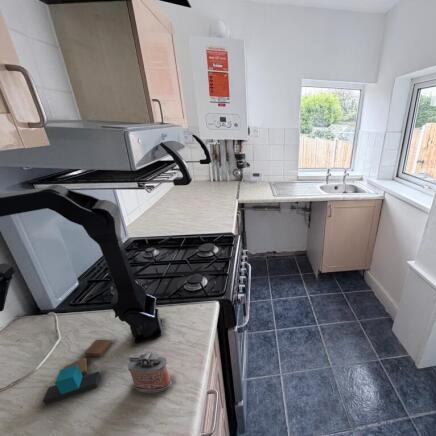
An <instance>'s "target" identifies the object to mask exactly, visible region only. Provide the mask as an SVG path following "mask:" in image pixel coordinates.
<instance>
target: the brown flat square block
mask: <svg viewBox="0 0 436 436" xmlns="http://www.w3.org/2000/svg"><path fill="white" fill-rule="evenodd" d="M112 344H113V342H112V340H111V339H95V340H94V341H93V343H92V344H91V345H90V346H88V348H87V349H86V350H85V351H84V352H83V354H84V356H85V357H102V356H103V355H104V354H105V352H106V351H107V350H108V349H109V348H110V346H111V345H112Z"/></svg>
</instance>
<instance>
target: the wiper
mask: <svg viewBox="0 0 436 436" xmlns="http://www.w3.org/2000/svg"><path fill="white" fill-rule="evenodd" d="M100 379H101V373H100V371H95V372H91V373H89V374H85V375H82V373H81V371H80V369H79V367H78V365H75V366H71V367H68V368H65V369H64V368H61V369H59V372H58V374H57V376H56V379H55V381H54V383H55V385H51V386H49V387H48V389H47V390H46V393H45V395H44V397H43V399H42V402H43V404H44V405H45V406H46V405H49V404H52V403H55V402H58V401H60V400H61V401H62V400H64V399H66V398H69V397H72V396H75V395H79V394H81V393H84V392H87V391H90V390H93V389H96V388H98V386H99V382H100Z"/></svg>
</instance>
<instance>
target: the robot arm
mask: <svg viewBox="0 0 436 436" xmlns="http://www.w3.org/2000/svg"><path fill="white" fill-rule="evenodd" d="M46 209H48V210H50V211H53V212H55V213H57V214H58V215H60V216H61V217H62V218H64V219H66V220H67V221H69V222H70V223H73V224H76V225H79V226H81V227H82V228H83V229H84V231H85V232H86V234H87V236H88V237H89V238H90V239H92V240H93V241H94V242H95V243H96V244H98V246H99V248H100V251H101V253H102V257H103V259H104V261H105V265H106V267H107V270H108V272H109V275H110V277H111V280H112V283H113V286H114V288H115V290H114V293H113V297H112V299H111V303H110V307H111V310H113V312H114V318H118V320H119V321H120V322H123V323H124V322H125V323H126V324H127V325H128V326H129V329H130V332H131V335H132V337H133V339H134V345H137V344H141V343H144V342H148V341H150V340H154V339H157V338H160V337H162V333H163V332H162V331H163V319H161V316H160V311H159V308H157V297H155V296H152V295H150V294H147V293H146V291H145V290H144V288H143V287H142V286H141V285H140V284H139V283H138V282H137V281H136V278H135V275H134V273H133V272H134V271H133V269H132V267H131V263H130V260H129V257H128V254H127V251H126V248H125V244H124V242H123V239H122V236H121V229H122V227H121V225H122V221H121V210H120V207H119V206H118V204H117V203H114V202H113V201H111V200H107V199H99V198H98V197H95V196H93V195H91V194H87V193H83V192H80V191H75V190H73V189H70V188H68V187H66V186H63V185H59V184H50V185H48V186H45V187H44V186H43V187H39V188H31V189H25V190H19V191H13V192H5V193H0V218H3V217H7V216H13V215H19V214H24V213H29V212H34V211H40V210H46ZM14 273H16V271H15V269H14V267H13V265H12V264H9V263H5V262H3V263H0V312H3V311H4V310H5V306H6V302H7V297H8V293H9V289H10V286H11V282H12V280H13V278H14V277H13V275H14Z"/></svg>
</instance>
